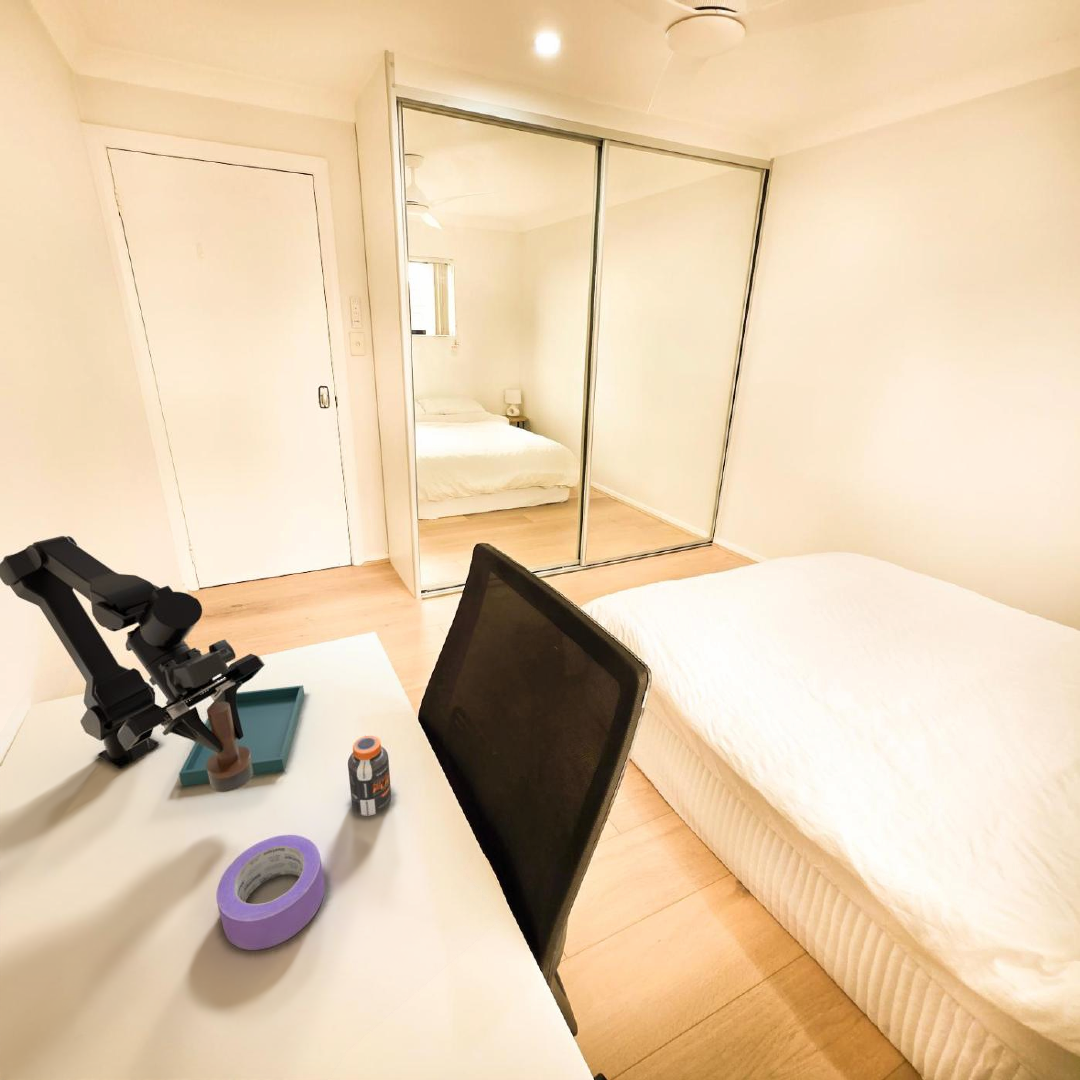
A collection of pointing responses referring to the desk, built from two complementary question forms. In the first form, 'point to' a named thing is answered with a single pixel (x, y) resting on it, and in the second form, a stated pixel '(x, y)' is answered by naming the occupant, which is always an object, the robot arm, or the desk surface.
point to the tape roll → (282, 914)
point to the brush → (227, 752)
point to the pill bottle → (369, 776)
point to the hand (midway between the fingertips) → (231, 744)
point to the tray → (256, 732)
